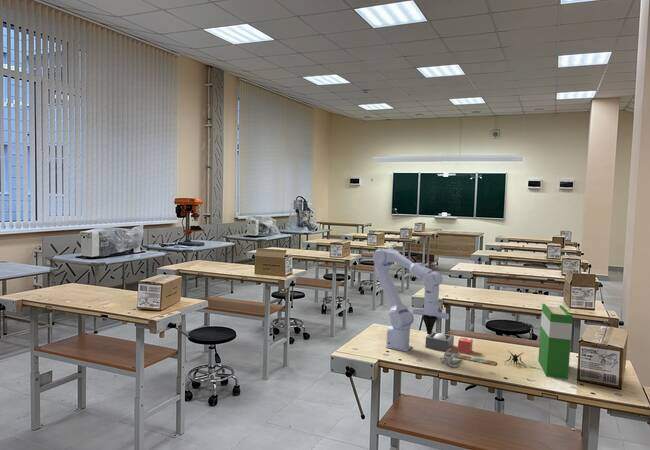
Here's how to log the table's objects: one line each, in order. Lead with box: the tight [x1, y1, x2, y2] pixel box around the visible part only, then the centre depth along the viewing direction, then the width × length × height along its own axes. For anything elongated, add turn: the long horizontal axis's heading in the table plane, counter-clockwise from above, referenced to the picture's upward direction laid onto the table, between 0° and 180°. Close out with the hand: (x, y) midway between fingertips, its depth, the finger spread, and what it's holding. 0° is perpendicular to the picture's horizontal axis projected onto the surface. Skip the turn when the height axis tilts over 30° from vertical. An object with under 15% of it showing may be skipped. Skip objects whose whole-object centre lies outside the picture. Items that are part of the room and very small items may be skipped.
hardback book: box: [537, 303, 573, 380], centre depth 179 cm, size 18×7×24 cm, turn 164°
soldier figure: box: [439, 349, 464, 368], centre depth 181 cm, size 8×5×12 cm
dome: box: [434, 332, 447, 340], centre depth 203 cm, size 7×7×6 cm
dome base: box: [424, 331, 455, 352], centre depth 203 cm, size 10×10×4 cm
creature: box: [504, 350, 527, 368], centre depth 183 cm, size 8×5×8 cm
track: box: [446, 351, 498, 366], centre depth 188 cm, size 20×4×1 cm, turn 62°
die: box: [457, 337, 474, 355], centre depth 198 cm, size 5×5×5 cm
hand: (429, 333), depth 189 cm, fingers closed
